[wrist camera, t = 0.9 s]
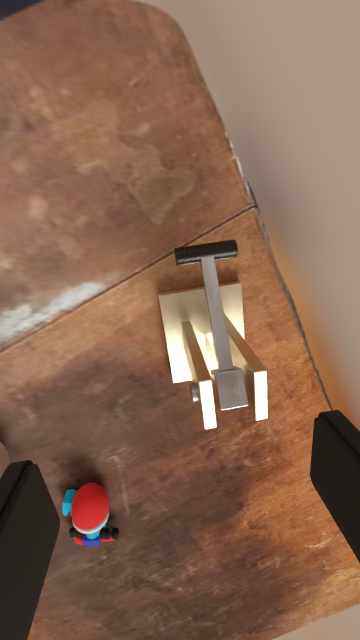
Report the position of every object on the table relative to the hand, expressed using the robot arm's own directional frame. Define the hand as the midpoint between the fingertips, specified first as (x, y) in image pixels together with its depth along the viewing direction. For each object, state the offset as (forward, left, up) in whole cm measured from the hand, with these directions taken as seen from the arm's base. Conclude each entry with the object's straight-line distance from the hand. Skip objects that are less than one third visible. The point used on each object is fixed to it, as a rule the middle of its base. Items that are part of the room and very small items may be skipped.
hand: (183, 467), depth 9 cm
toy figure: (+30, -15, -22) cm, 41 cm away
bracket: (+5, +4, -22) cm, 23 cm away
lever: (+1, +4, -14) cm, 15 cm away
